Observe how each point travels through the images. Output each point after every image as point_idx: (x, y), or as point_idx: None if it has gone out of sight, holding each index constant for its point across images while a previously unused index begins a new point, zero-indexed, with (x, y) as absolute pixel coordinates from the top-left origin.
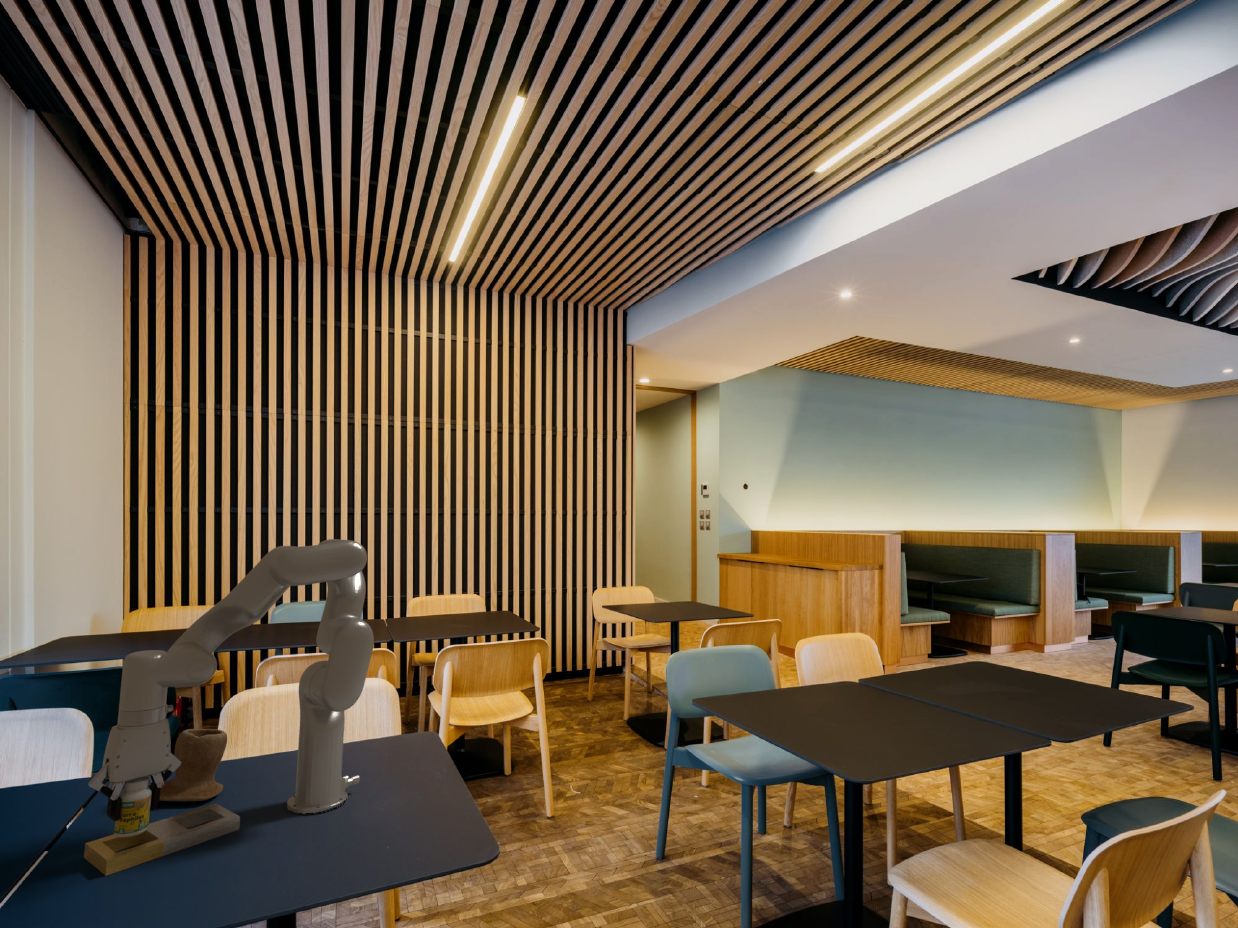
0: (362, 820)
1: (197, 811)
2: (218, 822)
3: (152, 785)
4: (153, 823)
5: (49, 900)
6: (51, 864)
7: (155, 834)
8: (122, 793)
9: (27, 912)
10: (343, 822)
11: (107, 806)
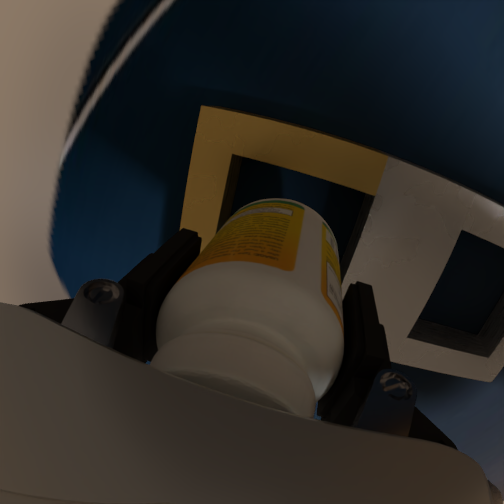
0: (492, 468)
1: None
2: (457, 368)
3: (340, 405)
4: (423, 182)
5: (89, 261)
6: (155, 69)
7: (351, 275)
8: (167, 340)
9: (62, 265)
10: (490, 458)
11: (133, 269)
